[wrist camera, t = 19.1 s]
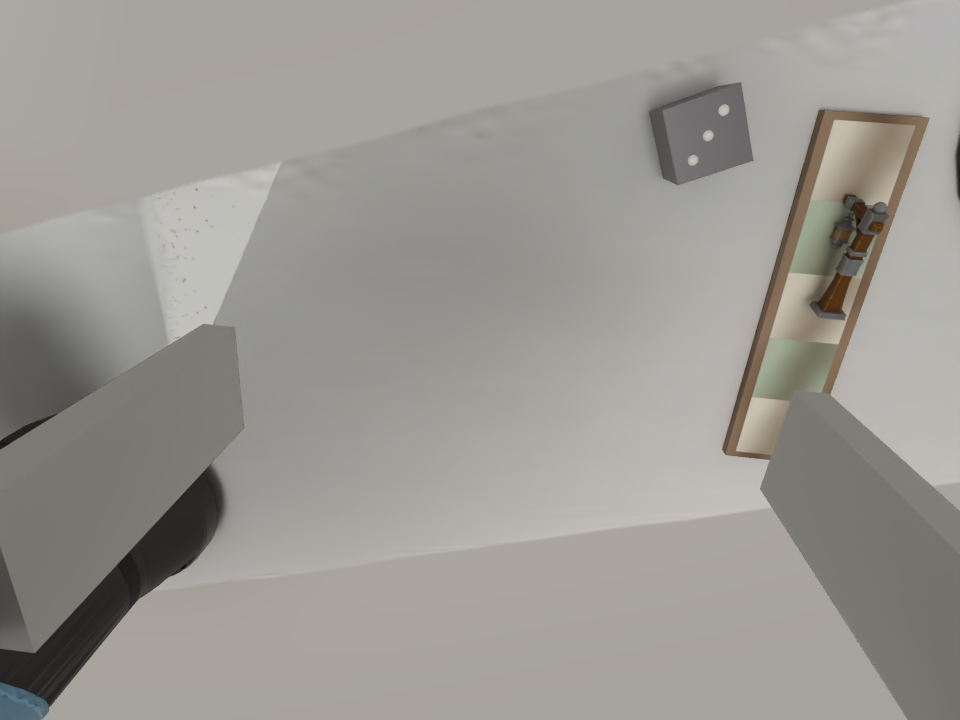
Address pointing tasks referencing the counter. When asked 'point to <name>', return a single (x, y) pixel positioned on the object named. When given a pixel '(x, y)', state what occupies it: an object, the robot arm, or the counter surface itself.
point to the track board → (819, 268)
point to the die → (702, 134)
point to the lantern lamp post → (850, 253)
